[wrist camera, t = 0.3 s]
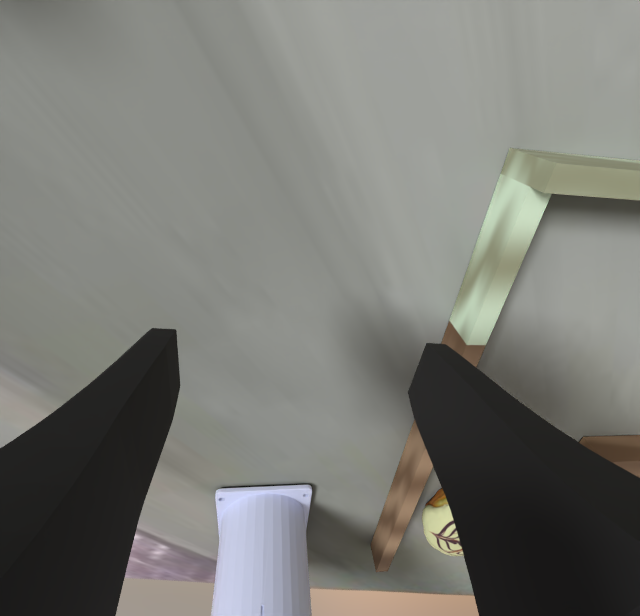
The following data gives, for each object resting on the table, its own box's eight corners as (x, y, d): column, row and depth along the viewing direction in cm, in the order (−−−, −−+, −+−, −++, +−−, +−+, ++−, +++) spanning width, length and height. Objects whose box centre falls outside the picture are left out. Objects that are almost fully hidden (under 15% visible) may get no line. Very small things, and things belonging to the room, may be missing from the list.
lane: (587, 529, 42) (611, 563, 39) (370, 545, 39) (378, 583, 36) (914, 187, 21) (1015, 205, 19) (509, 148, 18) (556, 163, 15)
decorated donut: (396, 500, 35) (408, 543, 32) (497, 447, 32) (522, 488, 29) (447, 535, 40) (462, 575, 37) (539, 492, 37) (563, 531, 34)
